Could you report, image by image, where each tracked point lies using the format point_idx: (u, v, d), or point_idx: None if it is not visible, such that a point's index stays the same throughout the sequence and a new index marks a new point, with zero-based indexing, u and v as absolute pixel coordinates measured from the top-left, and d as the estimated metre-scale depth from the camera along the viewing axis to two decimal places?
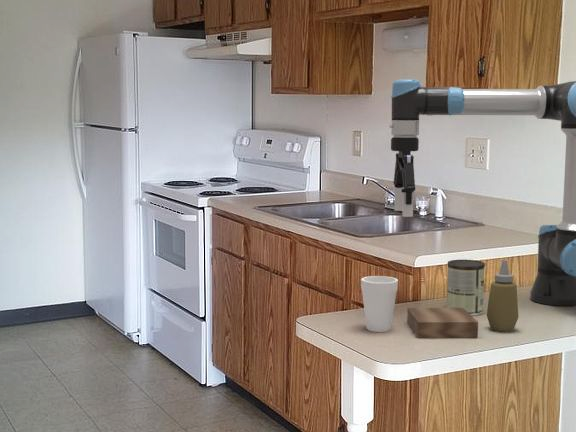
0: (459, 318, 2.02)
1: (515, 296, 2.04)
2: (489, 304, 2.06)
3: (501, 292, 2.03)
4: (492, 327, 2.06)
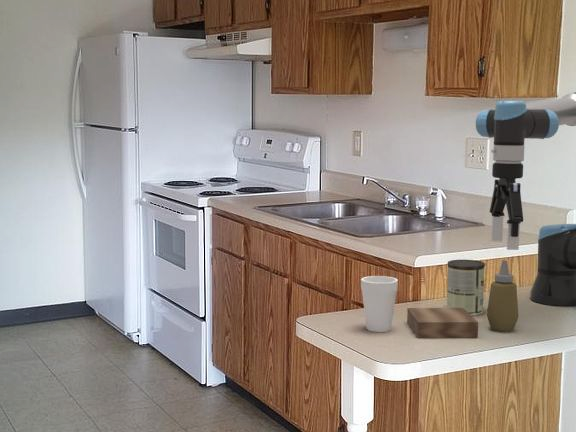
0: (459, 318, 2.02)
1: (515, 296, 2.04)
2: (489, 304, 2.06)
3: (501, 292, 2.03)
4: (492, 327, 2.06)
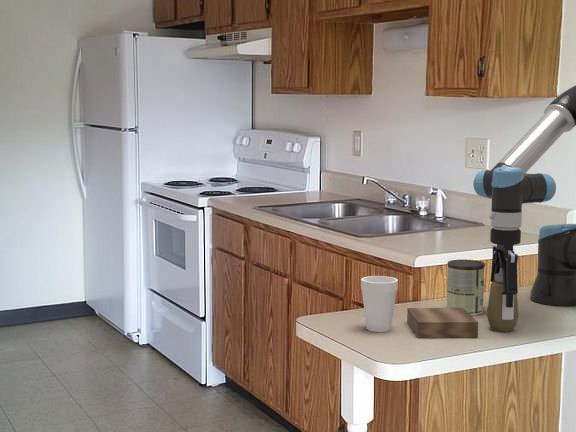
0: (459, 318, 2.02)
1: (515, 296, 2.04)
2: (489, 304, 2.06)
3: (501, 292, 2.03)
4: (492, 327, 2.06)
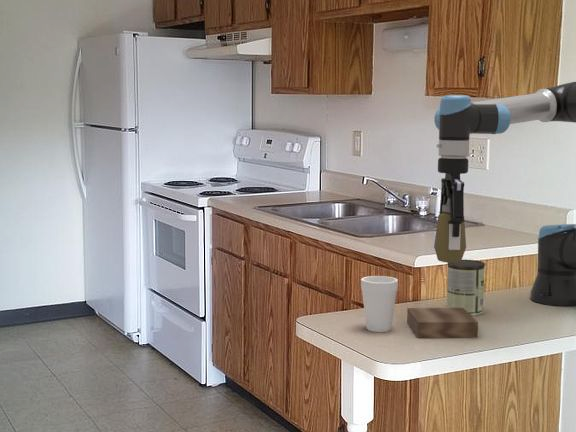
0: (459, 318, 2.02)
1: (462, 226, 2.00)
2: (436, 235, 2.02)
3: None
4: (439, 258, 2.02)
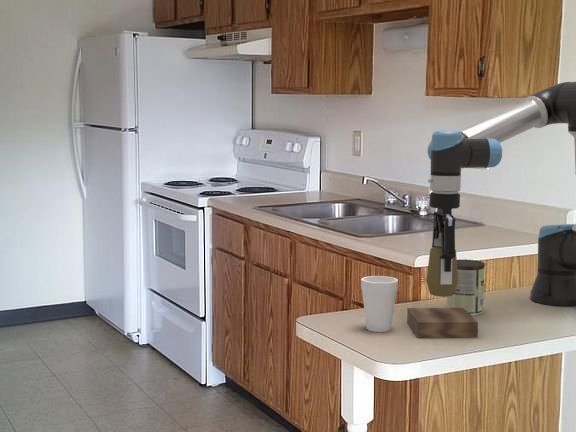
0: (459, 318, 2.02)
1: (454, 261, 2.01)
2: (428, 269, 2.03)
3: None
4: (431, 292, 2.04)
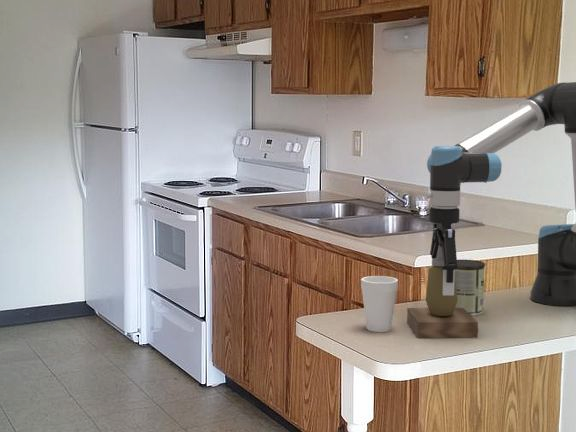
0: (459, 318, 2.02)
1: None
2: (427, 289, 2.04)
3: (438, 276, 2.02)
4: (431, 312, 2.04)
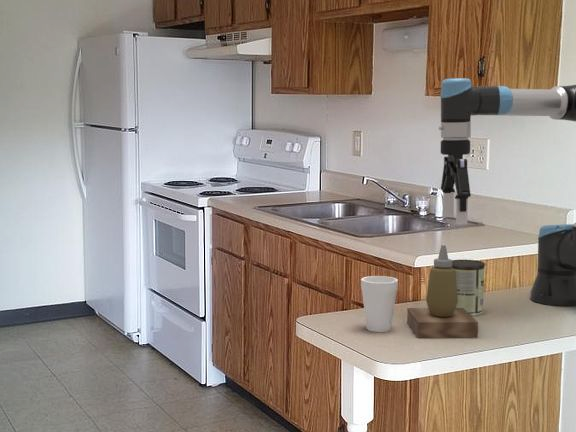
0: (459, 318, 2.02)
1: (454, 281, 2.02)
2: (428, 289, 2.04)
3: (440, 277, 2.01)
4: (431, 312, 2.04)
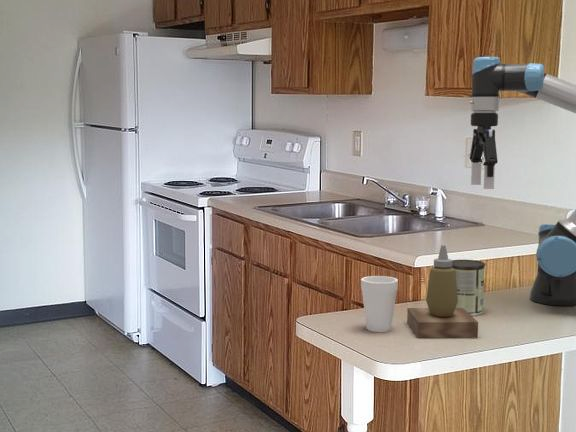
0: (459, 318, 2.02)
1: (454, 281, 2.02)
2: (428, 289, 2.04)
3: (440, 277, 2.01)
4: (431, 312, 2.04)
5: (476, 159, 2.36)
